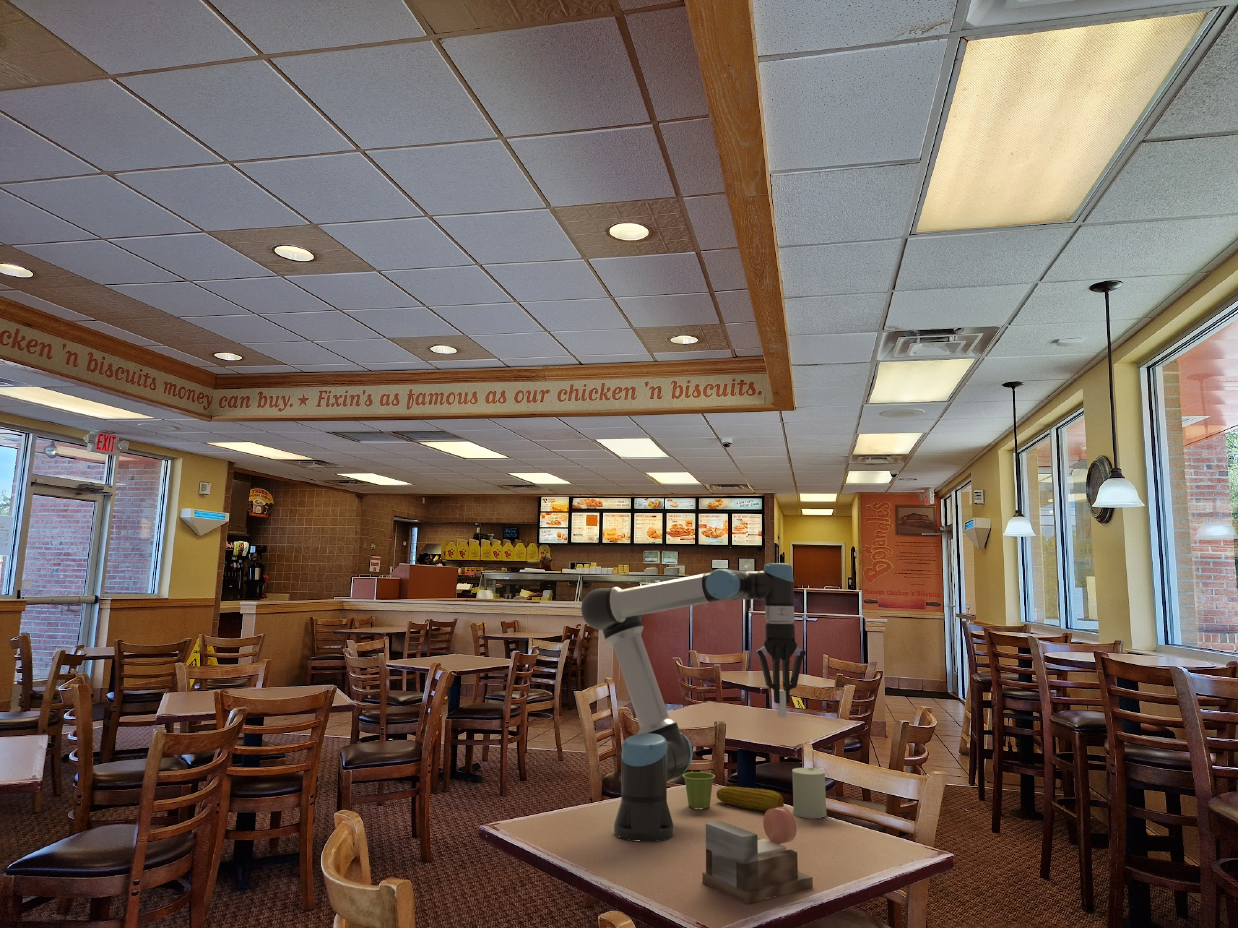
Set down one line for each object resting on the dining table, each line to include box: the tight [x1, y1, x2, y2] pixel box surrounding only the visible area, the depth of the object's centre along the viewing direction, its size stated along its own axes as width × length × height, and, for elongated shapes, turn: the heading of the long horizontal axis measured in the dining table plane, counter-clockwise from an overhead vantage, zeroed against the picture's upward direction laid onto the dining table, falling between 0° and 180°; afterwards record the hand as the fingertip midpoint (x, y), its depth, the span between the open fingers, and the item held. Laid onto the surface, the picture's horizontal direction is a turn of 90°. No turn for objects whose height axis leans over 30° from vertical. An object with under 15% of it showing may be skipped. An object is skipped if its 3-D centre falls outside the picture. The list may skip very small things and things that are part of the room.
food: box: [715, 786, 785, 813], centre depth 226 cm, size 21×6×6 cm, turn 53°
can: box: [791, 767, 828, 820], centre depth 221 cm, size 9×9×12 cm
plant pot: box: [682, 771, 716, 809], centre depth 227 cm, size 9×9×9 cm
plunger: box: [758, 806, 798, 856], centre depth 167 cm, size 13×7×12 cm, turn 123°
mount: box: [701, 820, 814, 905], centre depth 165 cm, size 18×14×12 cm
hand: (782, 716), depth 201 cm, fingers closed
